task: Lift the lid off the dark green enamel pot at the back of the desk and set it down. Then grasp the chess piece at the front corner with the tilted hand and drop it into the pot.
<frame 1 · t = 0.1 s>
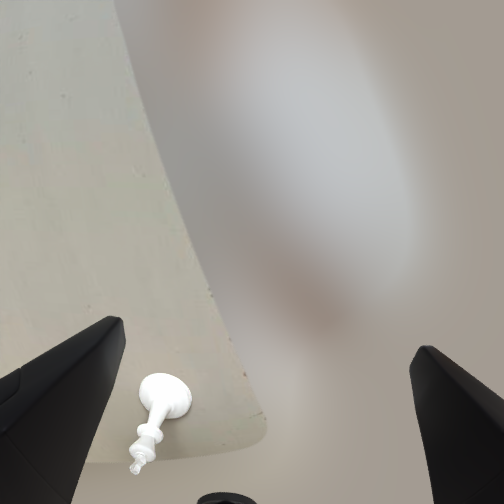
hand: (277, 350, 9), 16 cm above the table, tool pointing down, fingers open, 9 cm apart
chess piece: (166, 393, 27), on the table
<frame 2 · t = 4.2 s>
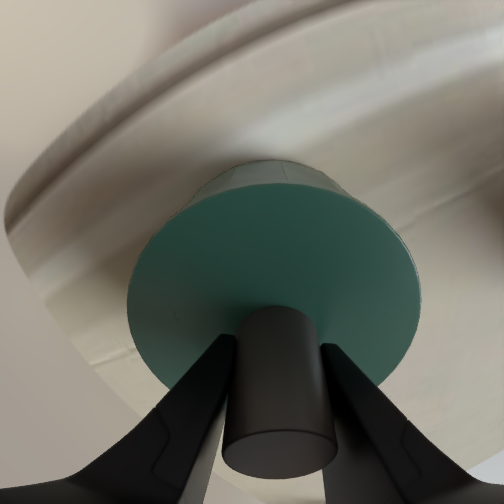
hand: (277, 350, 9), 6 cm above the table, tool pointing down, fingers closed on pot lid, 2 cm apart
pot lid: (275, 328, 10), point 5 cm above the table, touching gripper, pot
pot: (272, 256, 14), on the table
when the fingers open (2 cm above the table, at t = 9.6 s): pot lid stays where it is, point 1 cm above the table.
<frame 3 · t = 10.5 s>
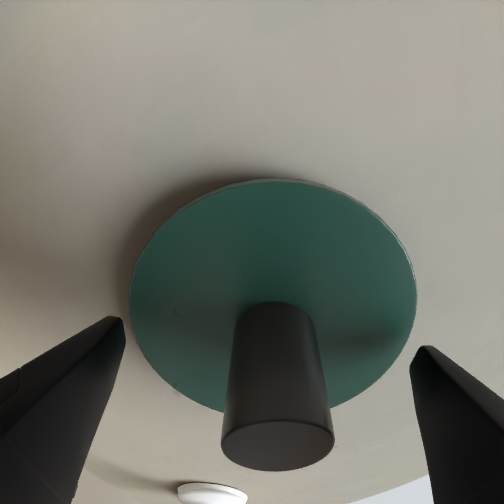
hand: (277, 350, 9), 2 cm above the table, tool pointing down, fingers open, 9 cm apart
chess piece: (212, 492, 18), on the table
pot lid: (274, 323, 10), point 1 cm above the table
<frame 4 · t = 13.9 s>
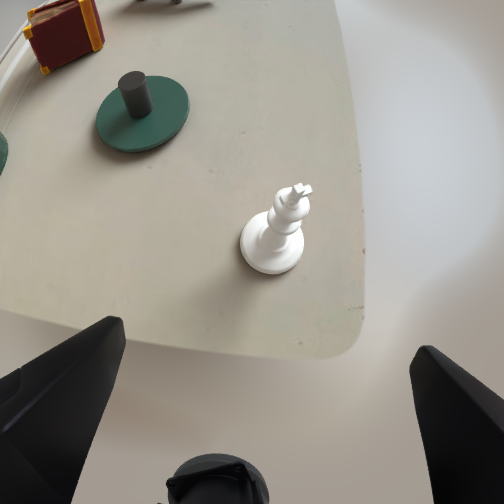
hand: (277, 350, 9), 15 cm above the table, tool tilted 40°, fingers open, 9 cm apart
chess piece: (271, 243, 25), on the table
pot lid: (142, 112, 27), point 1 cm above the table
book monster: (76, 41, 30), on the table
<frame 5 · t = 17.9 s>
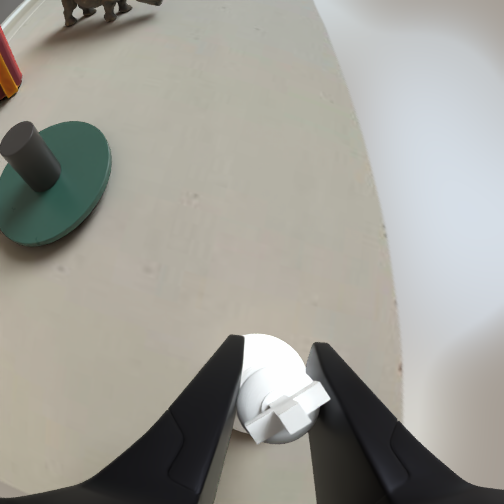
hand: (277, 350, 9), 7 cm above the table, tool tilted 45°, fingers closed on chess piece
chess piece: (255, 383, 15), on the table, touching gripper
pot lid: (49, 179, 17), point 1 cm above the table
rhino figurine: (117, 16, 25), on the table
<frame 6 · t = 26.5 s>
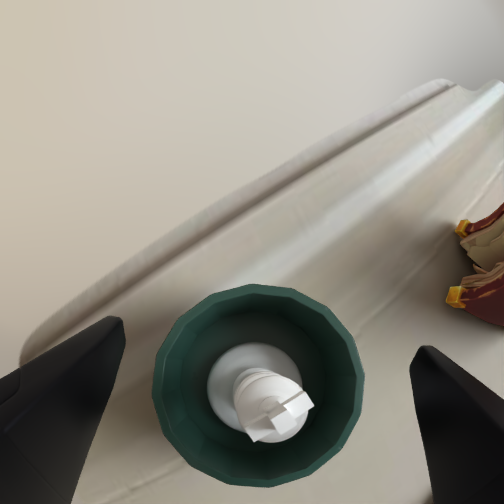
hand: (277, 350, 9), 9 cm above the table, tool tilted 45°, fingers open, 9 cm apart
chess piece: (254, 387, 16), resting on pot
book monster: (492, 263, 20), on the table
pot: (253, 382, 16), on the table
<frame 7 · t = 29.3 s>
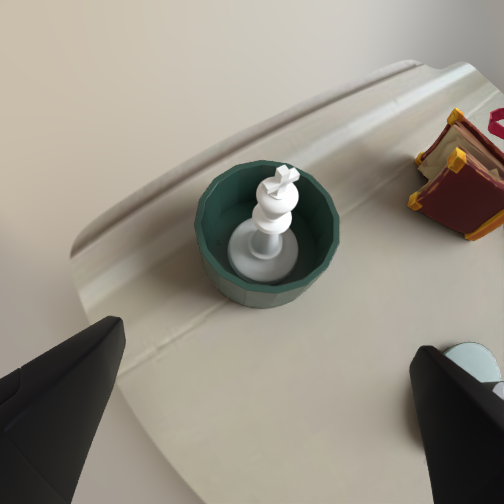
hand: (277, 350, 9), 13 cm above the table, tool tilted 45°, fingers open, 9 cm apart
chess piece: (262, 252, 23), resting on pot
pot lid: (463, 397, 19), point 1 cm above the table
book monster: (449, 188, 27), on the table
pot: (261, 250, 23), on the table
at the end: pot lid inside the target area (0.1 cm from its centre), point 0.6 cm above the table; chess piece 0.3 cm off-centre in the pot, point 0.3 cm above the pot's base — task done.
